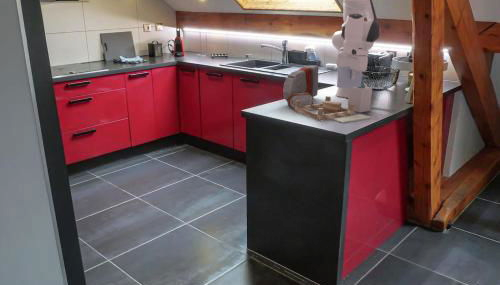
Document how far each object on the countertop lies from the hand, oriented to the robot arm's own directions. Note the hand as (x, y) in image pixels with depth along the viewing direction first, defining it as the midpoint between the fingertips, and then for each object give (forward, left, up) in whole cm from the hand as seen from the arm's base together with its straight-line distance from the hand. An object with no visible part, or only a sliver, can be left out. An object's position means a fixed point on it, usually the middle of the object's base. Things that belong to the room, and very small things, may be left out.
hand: (349, 78), depth 207 cm
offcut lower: (-1, -13, -21) cm, 25 cm away
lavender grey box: (0, 0, -4) cm, 4 cm away
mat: (-2, +2, -20) cm, 21 cm away
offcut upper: (-1, -13, -18) cm, 22 cm away
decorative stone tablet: (-1, -40, -21) cm, 45 cm away
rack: (+3, -13, -20) cm, 24 cm away
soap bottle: (-18, -10, -21) cm, 29 cm away
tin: (+8, -28, -21) cm, 36 cm away
